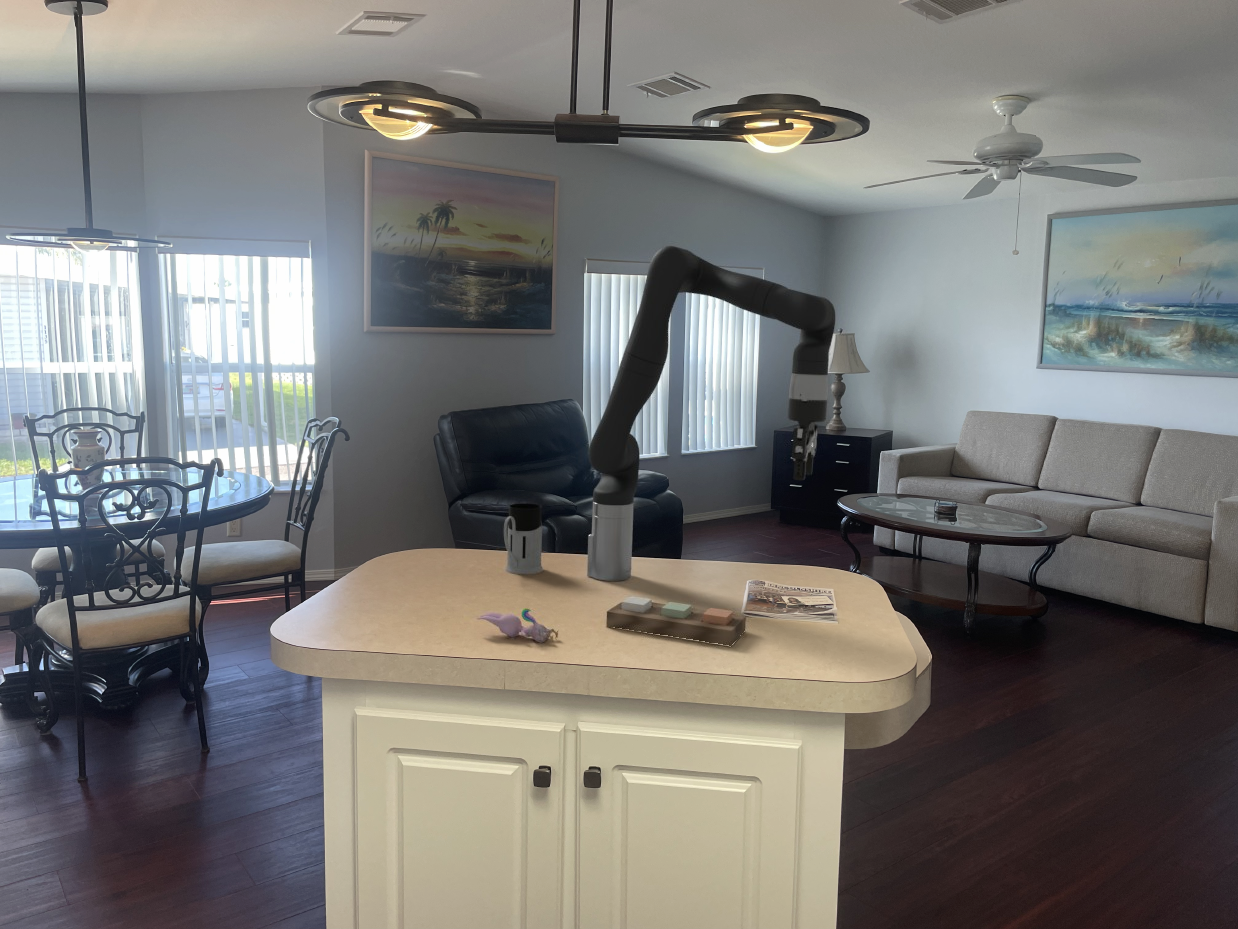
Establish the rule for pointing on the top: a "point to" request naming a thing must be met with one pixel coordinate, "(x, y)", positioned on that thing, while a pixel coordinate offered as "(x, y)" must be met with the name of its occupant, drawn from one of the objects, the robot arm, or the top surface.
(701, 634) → the button panel
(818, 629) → the top surface
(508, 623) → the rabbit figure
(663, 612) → the sage button
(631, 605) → the offwhite button
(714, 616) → the terracotta button
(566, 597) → the top surface
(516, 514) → the glass holder
